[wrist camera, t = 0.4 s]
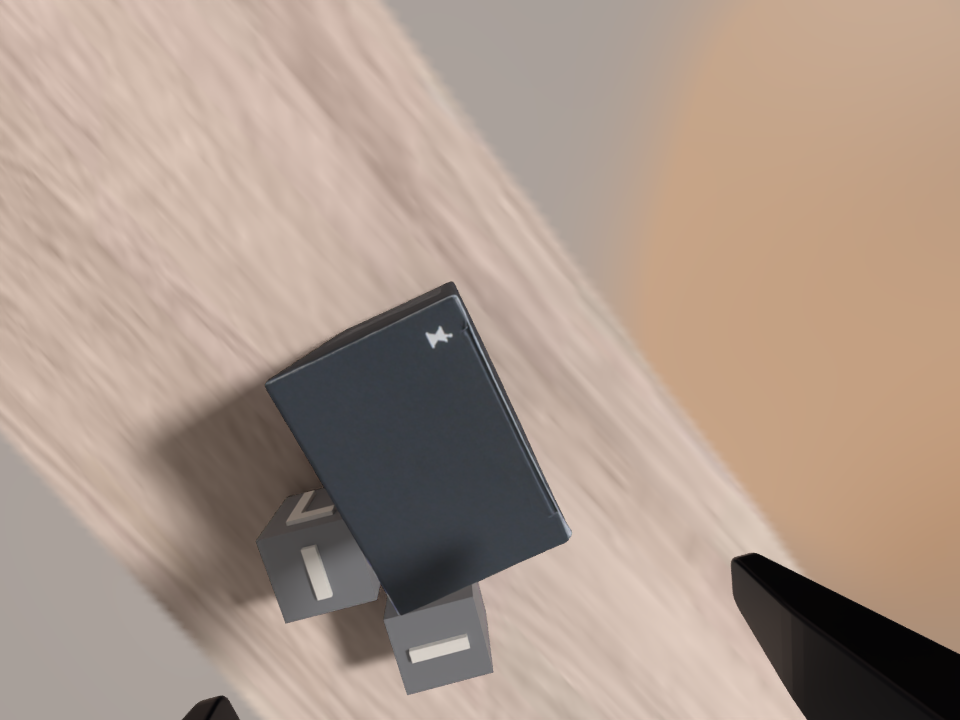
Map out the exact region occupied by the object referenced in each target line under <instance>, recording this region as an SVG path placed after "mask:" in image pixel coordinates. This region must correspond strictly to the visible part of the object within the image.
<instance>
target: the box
mask: <svg viewBox="0 0 960 720" xmlns="http://www.w3.org/2000/svg"><path fill="white" fill-rule="evenodd" d="M265 387H266V389H267V392H268V393H269V395H270V397H271V398H272V400H273V402H274V403H275V405H276V407H277V408H278V410H279V412H280V413H281V415H282V417H283V418H284V420H285V422H286V423H287V425H288V427H289V428H290V430H291V432H292V433H293V435H294V437H295V439H296V440H297V442H298V444H299V446H300V447H301V449H302V450H303V452H304V454H305V456H306V457H307V459H308V461H309V462H310V464H311V466H312V467H313V469H314V471H315V473H316V474H317V476H318V478H319V480H320V481H321V483H322V485H323V486H324V488H325V490H326V491H327V493H328V495H329V497H330V498H331V500H332V502H333V504H334V505H335V507H336V509H337V510H338V512H339V514H340V515H341V517H342V519H343V521H344V522H345V524H346V526H347V527H348V529H349V531H350V532H351V534H352V536H353V538H354V539H355V541H356V543H357V544H358V546H359V548H360V550H361V551H362V553H363V555H364V556H365V558H366V560H367V561H368V563H369V565H370V567H371V568H372V570H373V572H374V573H375V575H376V577H377V579H378V580H379V582H380V583H381V585H382V587H383V589H384V590H385V592H386V594H387V596H388V598H389V599H390V601H391V603H392V605H393V606H394V608H395V610H396V612H397V614H398V615H400V616H402V615H405V614H407V613H409V612H411V611H414V610H416V609H418V608H421V607H423V606H425V605H427V604H430V603H432V602H434V601H437V600H439V599H441V598H443V597H445V596H447V595H450V594H452V593H454V592H456V591H459V590H461V589H463V588H465V587H467V586H469V585H472V584H474V583H476V582H479V581H481V580H483V579H485V578H487V577H489V576H492V575H494V574H496V573H498V572H500V571H503V570H505V569H507V568H509V567H511V566H513V565H515V564H517V563H520V562H522V561H524V560H527V559H529V558H531V557H534V556H536V555H538V554H540V553H543V552H545V551H547V550H549V549H552V548H554V547H556V546H559V545H561V544H564V543H566V542H567V541H568V540H569V538H570V537H571V535H572V531H571V529H570V528H569V526H568V525H567V523H566V521H565V519H564V517H563V514H562V512H561V510H560V508H559V506H558V504H557V502H556V500H555V498H554V496H553V494H552V492H551V489H550V487H549V485H548V483H547V481H546V479H545V477H544V474H543V472H542V470H541V468H540V466H539V464H538V461H537V459H536V457H535V455H534V452H533V450H532V448H531V446H530V443H529V441H528V439H527V437H526V434H525V432H524V430H523V428H522V425H521V423H520V421H519V419H518V417H517V415H516V413H515V411H514V408H513V406H512V404H511V402H510V400H509V398H508V396H507V393H506V391H505V389H504V387H503V384H502V382H501V380H500V378H499V376H498V374H497V372H496V369H495V367H494V365H493V363H492V361H491V359H490V357H489V354H488V352H487V350H486V348H485V346H484V344H483V342H482V340H481V338H480V336H479V333H478V331H477V329H476V327H475V325H474V323H473V321H472V319H471V317H470V315H469V313H468V310H467V308H466V306H465V305H464V302H463V300H462V298H461V296H460V294H459V292H458V290H457V288H456V286H455V284H454V282H448V283H446V284H444V285H442V286H440V287H438V288H436V289H434V290H432V291H430V292H427V293H425V294H423V295H421V296H419V297H417V298H414V299H412V300H410V301H408V302H406V303H404V304H401V305H399V306H397V307H395V308H393V309H391V310H388V311H386V312H384V313H382V314H380V315H378V316H375V317H373V318H371V319H369V320H367V321H364V322H362V323H360V324H358V325H356V326H354V327H351V328H349V329H346V330H345V331H343V332H342V333H340V334H339V335H337V336H335V337H334V338H332V339H331V340H329V341H328V342H326V343H325V344H323V345H322V346H320V347H319V348H317V349H315V350H314V351H312V352H311V353H309V354H308V355H306V356H305V357H303V358H301V359H300V360H298V361H297V362H295V363H294V364H292V365H291V366H289V367H288V368H286V369H284V370H283V371H281V372H280V373H279V374H277V375H275V376H274V377H272V378H271V379H269V380H268V381H267V382H266V384H265Z"/></svg>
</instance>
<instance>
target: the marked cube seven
mask: <svg viewBox="0 0 960 720" xmlns="http://www.w3.org/2000/svg"><path fill="white" fill-rule="evenodd" d="M256 543H257V546H258V549H259V551H260V554H261V557H262V560H263V562H264V565H265V568H266V571H267V573H268V576H269V579H270V582H271V585H272V587H273V590H274V593H275V596H276V598H277V601H278V604H279V607H280V609H281V612H282V615H283V618H284V621H285V623H290V622H293V621H297V620H301V619H305V618H309V617H313V616H317V615H321V614H325V613H328V612H332V611H336V610H340V609H344V608H348V607H352V606H356V605H359V604H363V603H367V602H371V601H375V600H377V597H378V592H379V588H380V582H379V580H378V579H377V577H376V575H375V573H374V572H373V570H372V568H371V567H370V565H369V563H368V561H367V560H366V558H365V556H364V555H363V553H362V551H361V550H360V548H359V546H358V544H357V543H356V541H355V539H354V538H353V536H352V534H351V532H350V531H349V529H348V527H347V526H346V524H345V522H344V521H343V519H342V517H341V515H340V514H339V512H338V510H337V509H336V507H335V505H334V504H333V502H332V500H331V498H330V497H329V495H328V493H327V491H326V490H325V488H321V489H317V490H313V491H309V492H305V493H302V494H298V495H294V496H290V497H286V499H285V500H284V502H283V503H282V505H281V506H280V507H279V509H278V510H277V512H276V513H275V514H274V516H273V517H272V519H271V520H270V522H269V523H268V524H267V526H266V527H265V529H264V530H263V531H262V533H261V534H260V536H259V537H258V539H257V540H256Z"/></svg>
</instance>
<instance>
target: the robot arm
mask: <svg viewBox="0 0 960 720" xmlns="http://www.w3.org/2000/svg"><path fill="white" fill-rule="evenodd" d="M731 575H732V589H733V596H734V599H735V602H736V604H737V607H738V608H739V610H740V612H741V614H742V615H743V617H744V619H745V620H746V622H747V624H748V625H749V627H750V629H751V630H752V632H753V634H754V635H755V637H756V639H757V640H758V642H759V644H760V646H761V647H762V649H763V651H764V652H765V654H766V656H767V657H768V659H769V661H770V662H771V664H772V666H773V667H774V669H775V671H776V672H777V674H778V676H779V677H780V679H781V681H782V683H783V684H784V686H785V687H786V689H787V691H788V692H789V694H790V695H791V697H792V699H793V700H794V702H795V703H796V704H797V706H798V707H799V709H800V710H801V712H802V713H803V715H804V716H805V717H806V719H807V720H960V654H958V653H956V652H954V651H952V650H950V649H948V648H946V647H944V646H942V645H940V644H938V643H936V642H934V641H932V640H930V639H928V638H926V637H924V636H922V635H920V634H918V633H916V632H914V631H912V630H910V629H908V628H906V627H904V626H902V625H900V624H898V623H896V622H894V621H892V620H890V619H888V618H886V617H884V616H882V615H880V614H878V613H876V612H874V611H872V610H870V609H868V608H866V607H864V606H862V605H860V604H858V603H856V602H854V601H852V600H850V599H848V598H846V597H844V596H842V595H840V594H838V593H836V592H834V591H832V590H830V589H828V588H826V587H824V586H822V585H820V584H818V583H816V582H814V581H812V580H810V579H808V578H806V577H804V576H802V575H800V574H798V573H796V572H794V571H792V570H790V569H788V568H786V567H784V566H782V565H780V564H778V563H776V562H774V561H772V560H770V559H768V558H766V557H764V556H762V555H760V554H757V553H748V554H745V555H741V556H737V557H734V558H733V559H732V561H731ZM182 720H240V719H239V717H238V716H237V714H236V712H235V710H234V709H233V707H232V705H231V703H230V701H229V700H228V698H226V697H225V696H217V697H213V698H209V699H206V700H202V701H200V702H199V703H197V704H196V705H195V706H194V707H193V708H192V709H191V710H190V711H189V712H188V714H187V715H186V716H185V717H184V718H183V719H182Z"/></svg>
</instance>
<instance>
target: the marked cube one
mask: <svg viewBox="0 0 960 720" xmlns="http://www.w3.org/2000/svg"><path fill="white" fill-rule="evenodd" d="M384 623H385V626H386V629H387V633H388V636H389V639H390V642H391V645H392V648H393V652H394V655H395V658H396V661H397V664H398V667H399V671H400V674H401V677H402V680H403V683H404V686H405V690H406V693H407V695H410V694H414V693H418V692H421V691H425V690H429V689H433V688H436V687H440V686H444V685H448V684H451V683H455V682H459V681H463V680H467V679H470V678H474V677H478V676H482V675H485V674H489V673H493V665H492V657H491V648H490V640H489V632H488V624H487V616H486V610H485V606H484V603H483V599H482V595H481V591H480V587H479V584H478V582H476V583H474V584H472V585H469V586H467V587H465V588H463V589H461V590H459V591H456V592H454V593H452V594H450V595H447V596H445V597H443V598H441V599H439V600H437V601H434V602H432V603H430V604H427V605H425V606H423V607H421V608H418V609H416V610H414V611H411V612H409V613H407V614H405V615H402V616H400V615H398V614H397V612H396V610H395V608H394V606H393V605H392V603H391V601H390V599H389V598H388V597H387V602H386V608H385V614H384Z"/></svg>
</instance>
